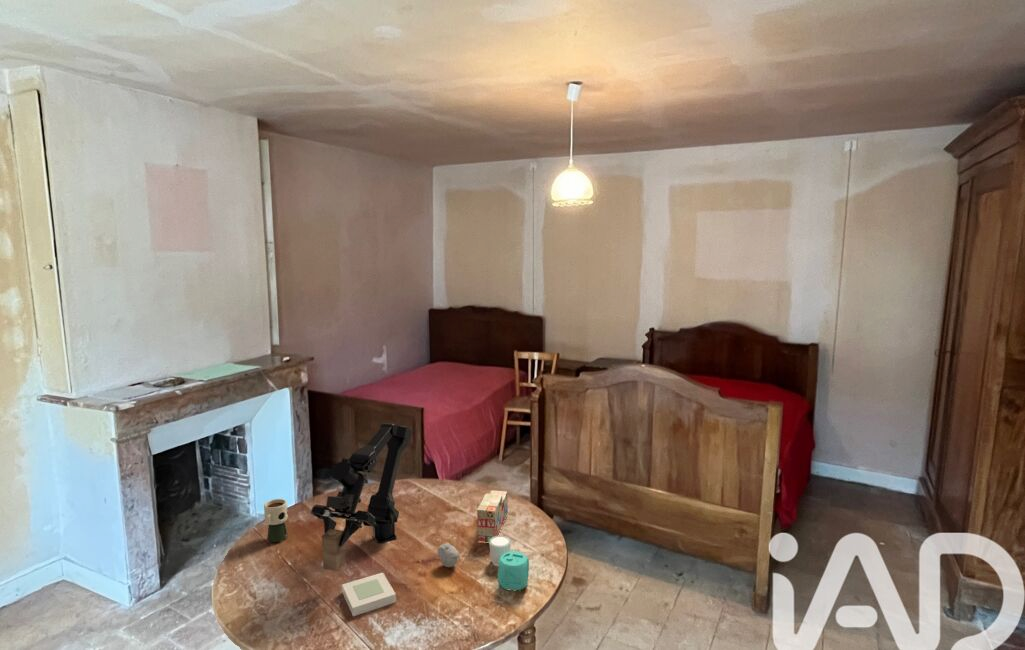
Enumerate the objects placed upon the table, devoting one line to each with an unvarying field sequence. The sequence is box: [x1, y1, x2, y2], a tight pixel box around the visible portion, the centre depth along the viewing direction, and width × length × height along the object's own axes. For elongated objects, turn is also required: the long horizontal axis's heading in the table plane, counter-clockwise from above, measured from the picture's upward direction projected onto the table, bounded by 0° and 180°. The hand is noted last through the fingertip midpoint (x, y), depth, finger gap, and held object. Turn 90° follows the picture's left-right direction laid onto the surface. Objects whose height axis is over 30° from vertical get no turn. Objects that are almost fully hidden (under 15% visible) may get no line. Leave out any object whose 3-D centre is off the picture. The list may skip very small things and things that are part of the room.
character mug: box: [263, 498, 289, 543], centre depth 188 cm, size 11×7×13 cm, turn 175°
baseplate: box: [341, 572, 397, 617], centre depth 158 cm, size 12×12×3 cm
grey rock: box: [437, 542, 460, 568], centre depth 173 cm, size 6×7×7 cm
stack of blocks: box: [476, 490, 509, 542], centre depth 196 cm, size 21×6×12 cm, turn 169°
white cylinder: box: [488, 535, 512, 565], centre depth 175 cm, size 7×7×7 cm
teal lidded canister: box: [497, 550, 530, 591], centre depth 164 cm, size 8×8×8 cm
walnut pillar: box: [321, 528, 346, 572], centre depth 161 cm, size 4×4×10 cm
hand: (332, 545), depth 160 cm, fingers closed on walnut pillar, 4 cm apart
